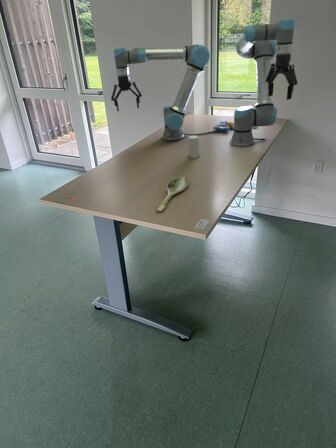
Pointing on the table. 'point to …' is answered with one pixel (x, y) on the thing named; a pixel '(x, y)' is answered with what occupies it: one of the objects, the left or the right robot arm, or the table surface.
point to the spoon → (174, 190)
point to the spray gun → (223, 126)
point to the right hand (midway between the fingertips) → (279, 97)
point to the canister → (194, 146)
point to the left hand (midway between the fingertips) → (128, 109)
